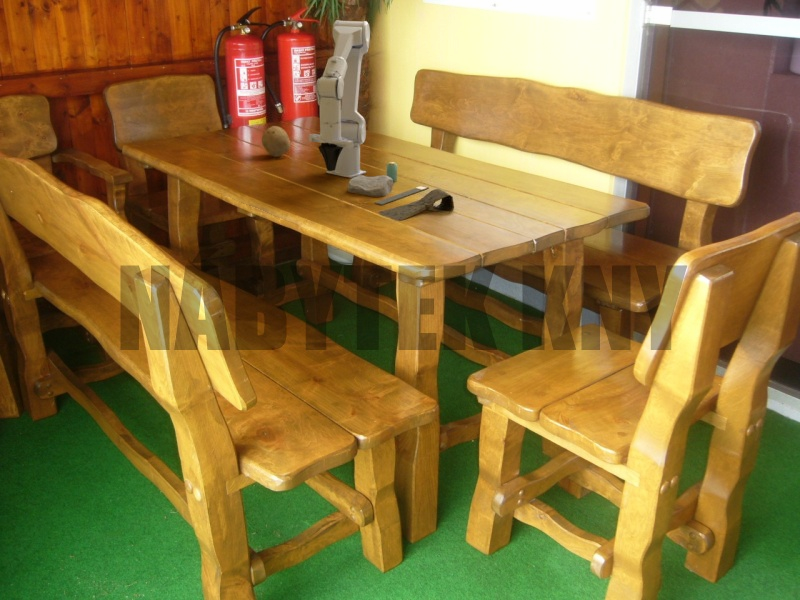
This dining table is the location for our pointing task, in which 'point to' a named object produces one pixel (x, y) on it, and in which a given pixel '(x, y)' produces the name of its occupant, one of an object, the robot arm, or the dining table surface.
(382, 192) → the stone block
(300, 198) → the dining table surface
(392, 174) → the teal cylinder cream end
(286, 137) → the brown oval lump
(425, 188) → the bar
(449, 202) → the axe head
